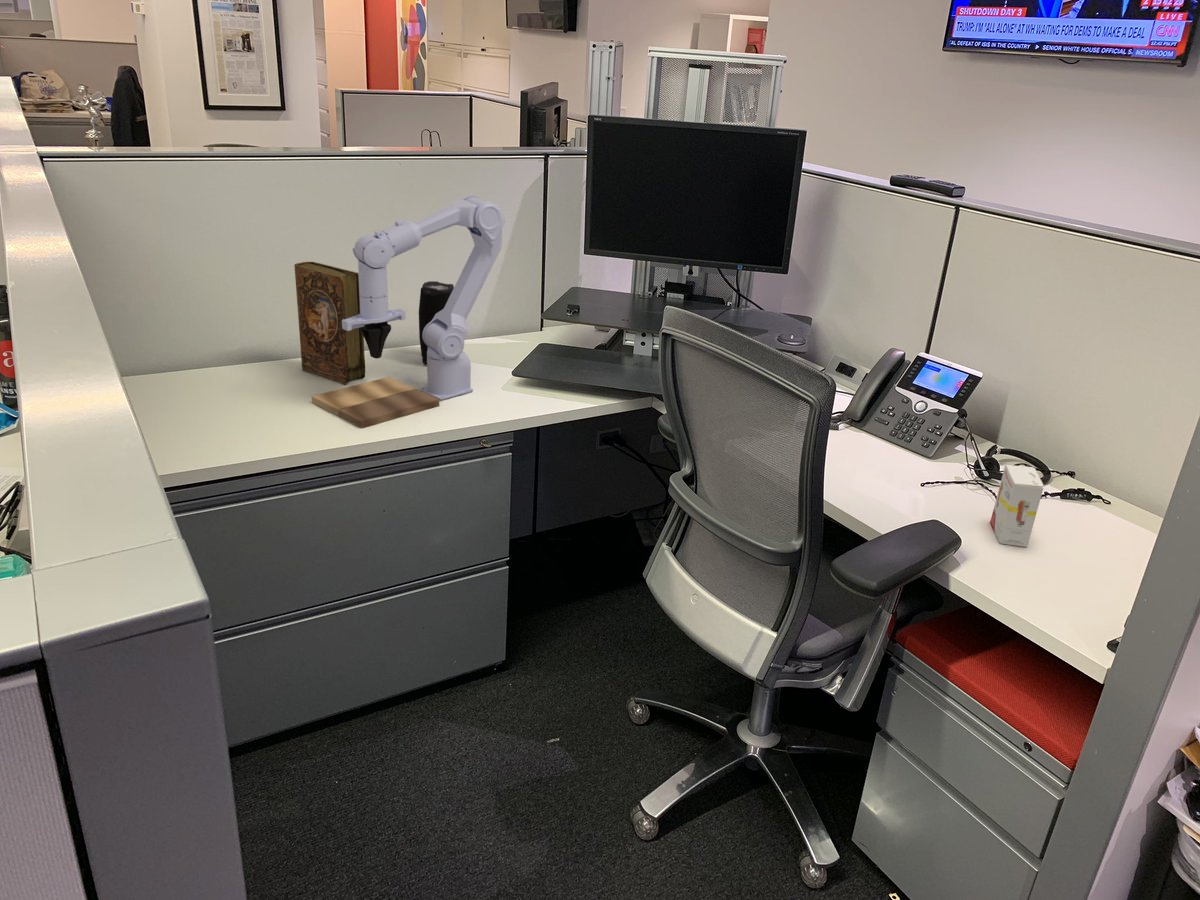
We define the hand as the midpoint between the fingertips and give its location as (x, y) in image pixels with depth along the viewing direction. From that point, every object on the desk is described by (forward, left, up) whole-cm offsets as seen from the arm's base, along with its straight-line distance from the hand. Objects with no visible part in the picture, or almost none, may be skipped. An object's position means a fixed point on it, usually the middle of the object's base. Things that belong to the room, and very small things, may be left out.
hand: (375, 357), depth 195 cm
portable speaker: (-27, -13, -11) cm, 32 cm away
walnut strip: (+1, +6, -10) cm, 12 cm away
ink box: (-48, +120, -11) cm, 130 cm away
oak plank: (+1, -3, -10) cm, 11 cm away
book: (-2, -21, -11) cm, 24 cm away
